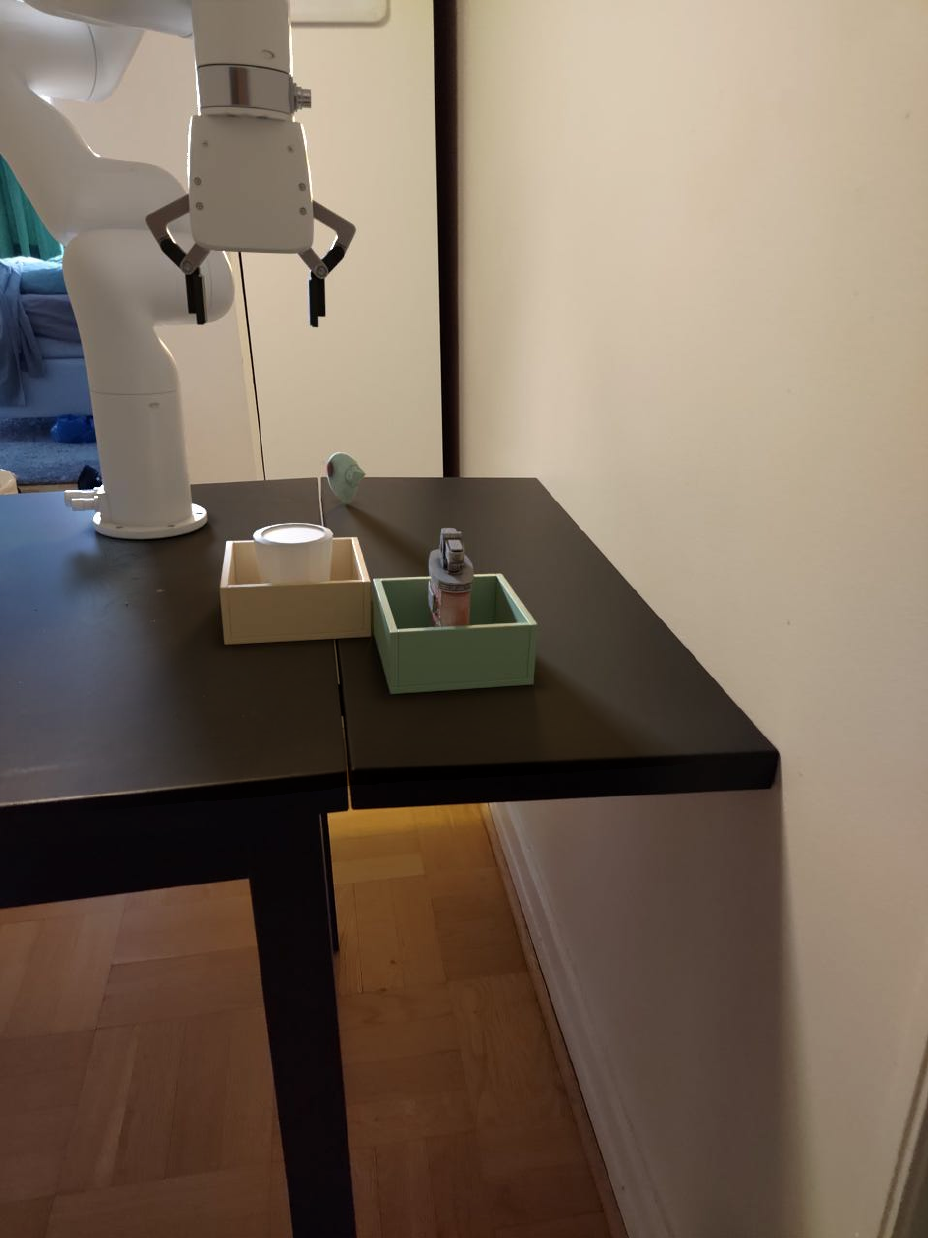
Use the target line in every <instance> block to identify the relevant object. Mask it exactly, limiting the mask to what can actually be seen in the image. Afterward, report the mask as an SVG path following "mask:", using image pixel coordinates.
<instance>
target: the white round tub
mask: <svg viewBox="0 0 928 1238" xmlns="http://www.w3.org/2000/svg"><path fill="white" fill-rule="evenodd" d="M252 538H253V540H254V544H255V550H256V556H257V562H258V569H259V575H260V581H261V584H272V583H296V582H320V581H330V572H331V557H332V542H333V538H334V533H333V532H332V530H331V529H330V528H328V527H325V526H323V525H319V524H314V523H313V524H311V523H302V522H301V523H298V522H290V523H278V524H273V525H269V526H265V527H262V528H260V529H257V530H256V531H255V532H254V533H253V535H252Z"/></svg>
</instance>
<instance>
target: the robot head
mask: <svg viewBox="0 0 928 1238" xmlns="http://www.w3.org/2000/svg"><path fill="white" fill-rule="evenodd" d="M325 472H326V477H327V482H328V484H329V487H330V489H331V492H332V493H333V494H334V496H335V497H336V498H337V499H338V500H339V501H340V502H341V503H343V504H348V503H351V502H353V501H354V499H355V497H356V496H357V493H358V489H359V486H360V482H361V481H362V480H363V478H364V477H365V476H367V475H366V474H367V473H366V472H365V471H364V470H363V469H362V468H361V467H360V465H359V463H358V461H357V460H356V459H355V458H354V457H353V456H351V455H350V454H349V453H347V452H343V451H341V452H340V451H339V452H335V453H333V454H332V455H331V456H330V457H329V458H328V460H327V463H326V471H325Z"/></svg>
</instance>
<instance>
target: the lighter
mask: <svg viewBox="0 0 928 1238" xmlns="http://www.w3.org/2000/svg"><path fill="white" fill-rule="evenodd" d="M428 572H429V577H430V576H431V580H430V581H429V606H430V608H431V618H430V627H449V626H467V625H469V618H470V591H471V589H472V588H473V580H474V575H475V571H474V566H473V563H472V561H471V560H470V559H469V557H468V556H467V555H466V553H465V543H464V541H463V532H462V531H457V529H456V528H452V527H444V528H441V530H440V537H439V548H437V549H434V550H431V551H430V554H429V557H428ZM430 627H429V628H430Z"/></svg>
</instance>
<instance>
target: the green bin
mask: <svg viewBox="0 0 928 1238" xmlns="http://www.w3.org/2000/svg"><path fill="white" fill-rule="evenodd" d="M372 580H373V581H372V583H373V585H372V587H373V636H374V639H375V643H376V646H377V650H378V653H379V657H380V661H381V665H382V668H383V672H384V676H385V679H386V683H387V686H388V687H387V688H388V690H389V691H388V692H389V694H390V695H398V694H412V693H413V694H414V693H427V692H442V691H456V690H458V691H459V690H470V689H471V690H472V689H485V688H500V687H513V686H514V687H515V686H529V685H534V682H535V678H534V677H535V670H536V669H535V668H536V657H537V656H536V655H537V643H538V629H539V628H538V627H539V624H538V623H537V621H536V619H534V617H533V616H532V614H531V613H530V611H529V610H528V609H527V608H526V606H525V604H524V602H522V600H521V599H520V597H519V596H518V594H517V593H516V592H515V590H514V589H513V588H512V586H511V585H510V583H509V581H508V580H507V579H506V578H505V576H504V575H503V574H502V573H481V574H480V573H479V574H474V580H473V588H472V589H471V591H470V618H469V625H467V626H449V627H430V618H431V608H430V606H429V581H430V580H431V576H430V575H429V576H413V577H412V576H411V577H410V576H409V577H383V578H373V579H372ZM429 627H430V628H429Z"/></svg>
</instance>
